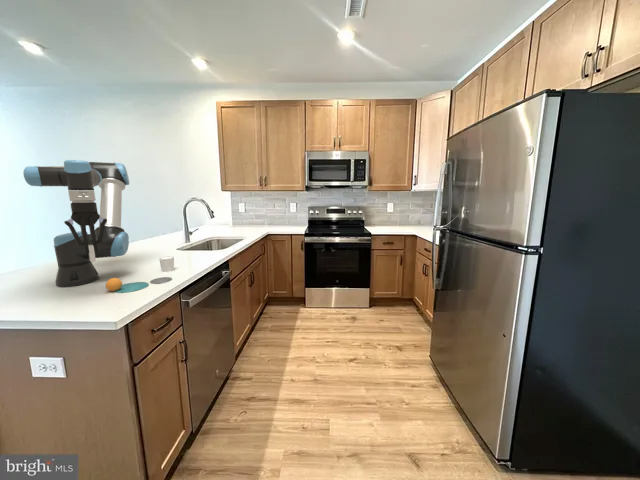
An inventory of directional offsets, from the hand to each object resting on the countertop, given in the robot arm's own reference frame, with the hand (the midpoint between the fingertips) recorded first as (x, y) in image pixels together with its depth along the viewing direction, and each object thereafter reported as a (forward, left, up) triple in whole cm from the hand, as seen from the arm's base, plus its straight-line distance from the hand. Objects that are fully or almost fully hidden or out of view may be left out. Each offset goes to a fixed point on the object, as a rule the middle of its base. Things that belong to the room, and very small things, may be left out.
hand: (92, 260), depth 107 cm
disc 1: (+6, +10, -14) cm, 18 cm away
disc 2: (+12, +20, -14) cm, 28 cm away
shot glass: (+3, +35, -15) cm, 38 cm away
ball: (+2, +5, -12) cm, 13 cm away
